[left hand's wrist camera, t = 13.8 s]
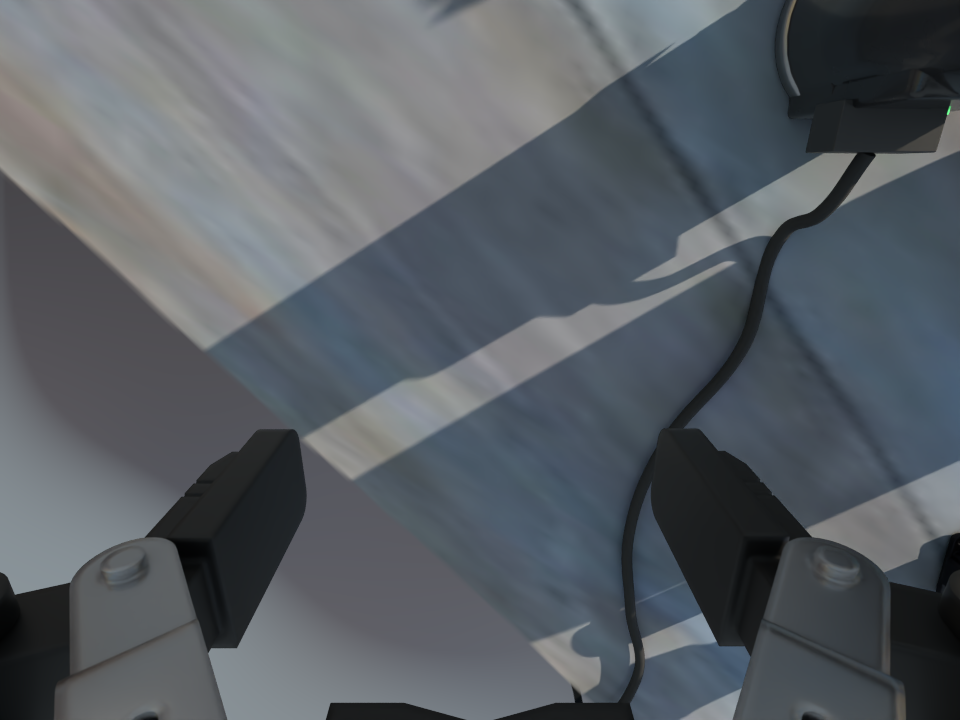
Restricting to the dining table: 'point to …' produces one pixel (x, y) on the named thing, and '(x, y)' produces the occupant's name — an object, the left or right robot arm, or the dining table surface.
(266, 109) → the dining table surface
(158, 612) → the left robot arm
